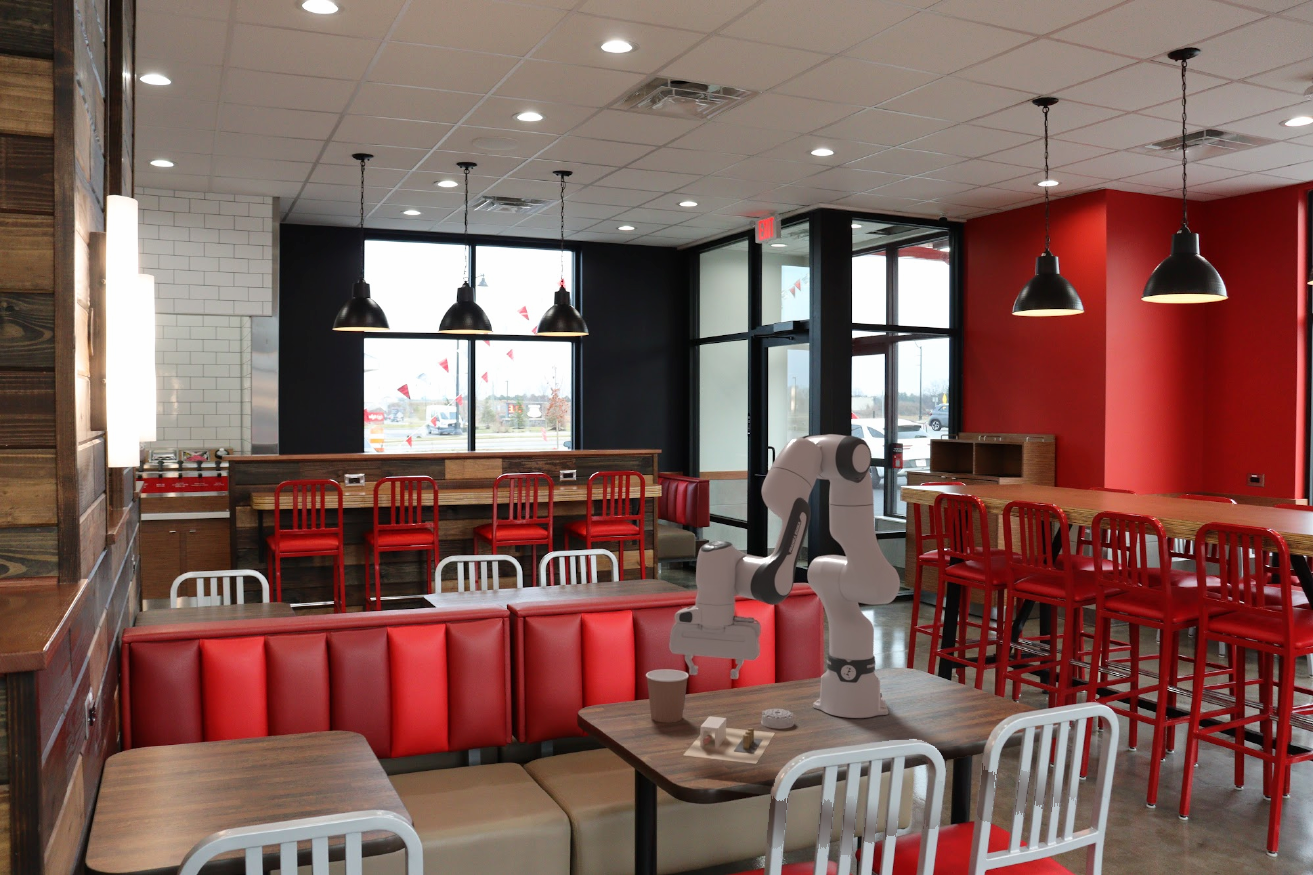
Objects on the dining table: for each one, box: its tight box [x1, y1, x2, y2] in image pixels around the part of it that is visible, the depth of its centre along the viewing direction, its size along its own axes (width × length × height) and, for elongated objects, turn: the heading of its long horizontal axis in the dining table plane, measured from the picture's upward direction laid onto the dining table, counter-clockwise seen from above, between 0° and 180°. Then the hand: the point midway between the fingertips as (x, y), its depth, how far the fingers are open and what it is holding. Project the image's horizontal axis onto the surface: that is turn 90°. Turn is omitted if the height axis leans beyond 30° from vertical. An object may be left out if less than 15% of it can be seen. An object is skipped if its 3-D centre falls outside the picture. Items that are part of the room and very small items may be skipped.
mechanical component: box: [760, 708, 795, 729], centre depth 243 cm, size 10×4×10 cm
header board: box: [682, 727, 776, 765], centre depth 228 cm, size 22×16×4 cm
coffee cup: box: [645, 668, 690, 724], centre depth 247 cm, size 10×10×12 cm
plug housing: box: [699, 715, 727, 748], centre depth 228 cm, size 11×4×4 cm, turn 163°
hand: (713, 676), depth 229 cm, fingers open, 8 cm apart
